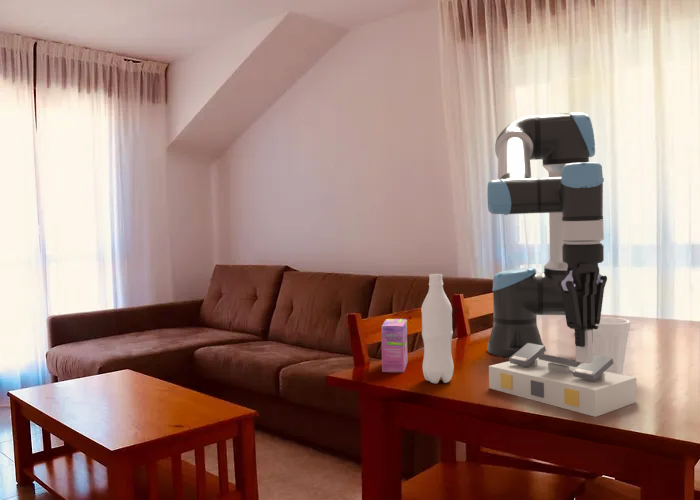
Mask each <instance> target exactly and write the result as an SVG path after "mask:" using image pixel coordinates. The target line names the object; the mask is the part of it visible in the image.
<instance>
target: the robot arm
mask: <svg viewBox="0 0 700 500" xmlns="http://www.w3.org/2000/svg"><path fill="white" fill-rule="evenodd" d="M593 127H594V126H593V123H592V120H591V118H590V116H589V114H587V113H584V112H565V113H553V114H542V115H528V116H524V117H521V118H519V119H516V120H515V121H512V122H511V123H510V124H508V125H507V126H506V127H505V128H504V129H502V130H501V132H500V133H499V135H498V136H497V138H496V140H495V145H494V152H495V156H496V157H497V159H498V163H497V164H498V165H497V179H492V180H489V181H488V182H487V193H486V195H487V197H486V198H487V208H488V212H489V213H490V214H492V215H504V216H509V215H520V214H521V215H523V214H524V215H525V214H548V213H549V214H548V215H549V216H548V217H549V221H548V226H549V231H548V232H549V261H547V263H546V264H544V266H543V272H537V270H536V268H535V267H520V268H513V269H512V268H511V269H507V270H502V271H500V272H496V273H495V274H494V276H493V277H492V290H491V291H492V294H493V295H492V296H493V297H492V298H493V299H492V300H493V305H492V306H493V311H492V313H493V316H492V317H493V325H492V329H491V331H490V334H489V340H488V342H487V353H488V354H491V355H494V356H498V357H504V358H505V357H506V358H510V357H511V356H512V355H514V354H515V353H516V352H517V351H519V350H520V349H521V348H522V347H523V346H525V345H526V344H527V343H531V344H537V345H542V346H545V345H544V342H543V341H542V338H541V334H540V330H539V327H538V325H537V316H565V321H566V326H567V328H569V329H572V330H574V344H575V361H576V362H578V363H580V364H581V363H586V364H589V363H593V360H592V343H593V329H598V326H595V325H596V324H599V323H600V318H601V317H602V310H603V309H602V308H603V301H604V293H605V287H606V284H607V281H608V276H607V275H602V274H601V272H600V267H599V264H601V263H603V262H604V260H605V259H604V257H605V255H604V248H605V247H604V245H603V243H601V241H604V239H605V238H604V237H605V236H604V234H605V233H604V213H603V211H604V208H603V206H604V205H603V203H604V201H603V199H604V195H603V194H604V180H605V178H604V175H603V166H602V164H601V163H600V162H595V161H594V162H592V161H591V162H590V159H589V158H592V157H594V156H595V155H596V143H595V134H594V128H593ZM535 160H542V167H543V169H545V170H546V172H548V177H532V169H531V168H532V167H531V161H535Z"/></svg>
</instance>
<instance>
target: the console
mask: <svg viewBox="0 0 700 500" xmlns="http://www.w3.org/2000/svg"><path fill="white" fill-rule="evenodd" d="M575 368H576V367H572V366H567V365H562V364H557V363H553V362H548V361H544V360H540V359H539V357H538V358H537V359H536V360H535V361H533V362H532V363H531V364H530V365H529V366H527V367H526V366H521V365H517V364H512V363H510V361H509V360H508V361H504V362H500V363H495V364H492V365H488V388H489V389H491V390H494V391H497V392H501V393H505V394H509V395H513V396H516V397H521V398H525V399H528V400H531V401H535V402H537V403H538V402H539V403H543V404H547V405H551V406H555V407H556V408H557V407H558V408H561V409H565V410H569V411H572V412H576V413H580V414H584V415H587V416H591V417H595V418H597V417H599V416H601V415H605V414H608V413H610V412H613V411H616V410H618V409H621V408H624V407H627V406H629V405H633V404H635V403H637V377H636V376H631V375H625V374H622V375H621V374H616V373H611V372H606V371H605V372H604V373H603V374H601V375H600V376H599V377H598V378H597V379H596V380H595V381H592V380H587V379H583V378H578V377H574V376H573V372H572V371H573V370H574V369H575Z"/></svg>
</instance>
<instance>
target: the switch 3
mask: <svg viewBox="0 0 700 500" xmlns="http://www.w3.org/2000/svg"><path fill="white" fill-rule="evenodd" d="M592 360H593V363H589V364H586V363H581V362H580V364H578V367H576V368H575V369H574V370H573V371H572V372H573V376H574V377H578V378H583V379H587V380H592V381H595V380H596V379H597V378H598V377H599V376H600V375H601V374H603V373H604V372H605V371H606V370H607V369H608V368H609V367H610V366H611V365H612V364H613V359H612V358H609V357H603V356H597V355H592Z"/></svg>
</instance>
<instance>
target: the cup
mask: <svg viewBox="0 0 700 500" xmlns="http://www.w3.org/2000/svg"><path fill="white" fill-rule="evenodd" d="M595 326H598V329H593V343H592V355H597V356H603V357H609V358H612V359H613V364H612V365H611V366H610V367H609V368H608V369H607V370H606V372H611V373H616V374H621V375H623V372H624V364H625V359H626V350H627V344H628V337H629V332H630V328H631V321H630V320H628V319H625V318H619V317H605V316H604V317H603V316H601V318H600V323H599V324H596V325H595Z"/></svg>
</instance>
